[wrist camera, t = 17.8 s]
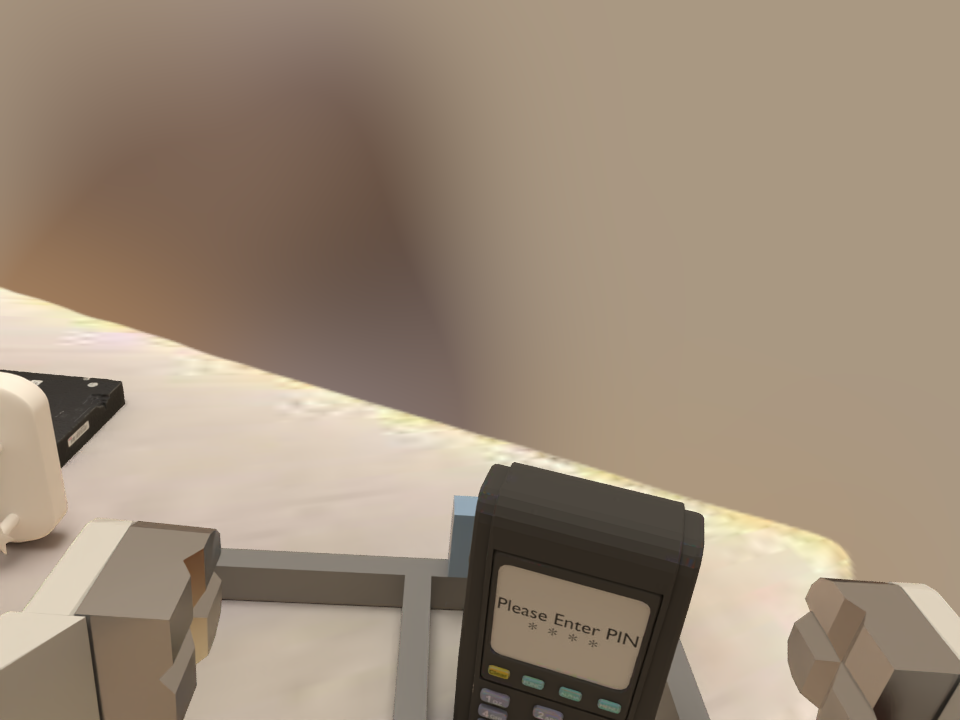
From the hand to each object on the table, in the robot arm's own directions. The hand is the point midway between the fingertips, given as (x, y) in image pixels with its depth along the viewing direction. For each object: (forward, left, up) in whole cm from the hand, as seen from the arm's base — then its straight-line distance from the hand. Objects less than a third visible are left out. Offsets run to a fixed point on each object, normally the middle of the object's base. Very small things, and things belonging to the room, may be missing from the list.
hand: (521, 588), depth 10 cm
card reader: (+5, +16, -25) cm, 30 cm away
